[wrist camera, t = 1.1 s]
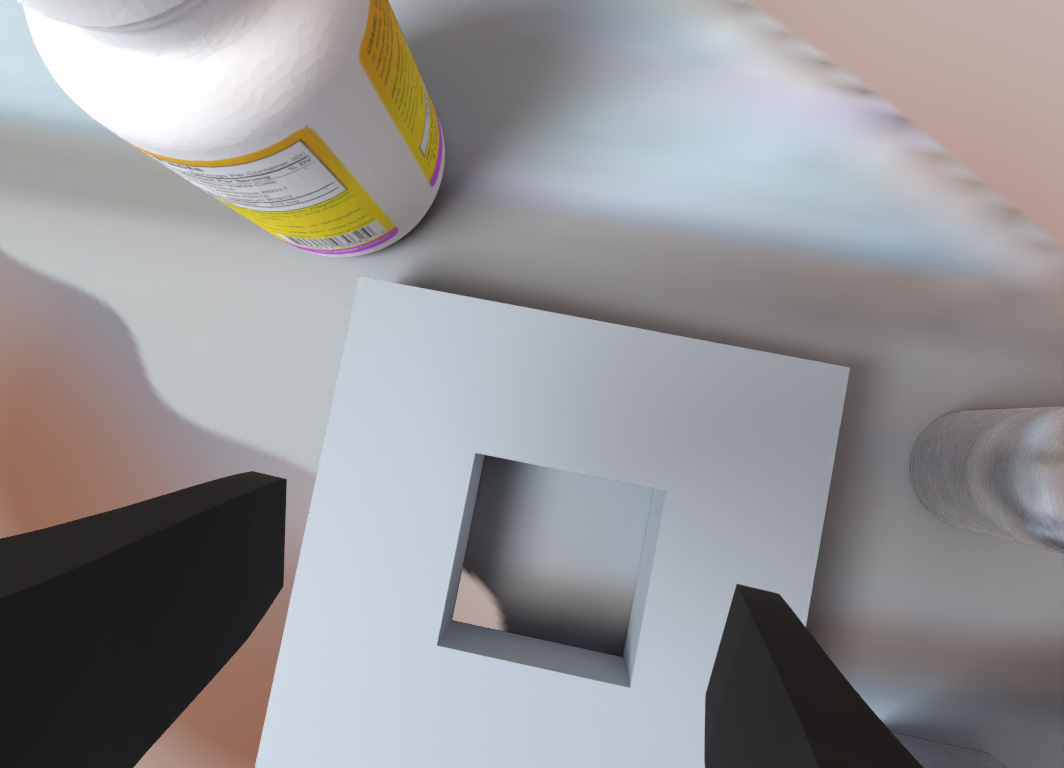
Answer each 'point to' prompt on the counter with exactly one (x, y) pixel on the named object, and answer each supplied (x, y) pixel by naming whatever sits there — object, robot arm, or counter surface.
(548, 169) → the counter surface
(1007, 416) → the round bit
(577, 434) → the bore block
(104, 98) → the supplement bottle
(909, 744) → the square bit
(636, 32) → the counter surface
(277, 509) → the robot arm
